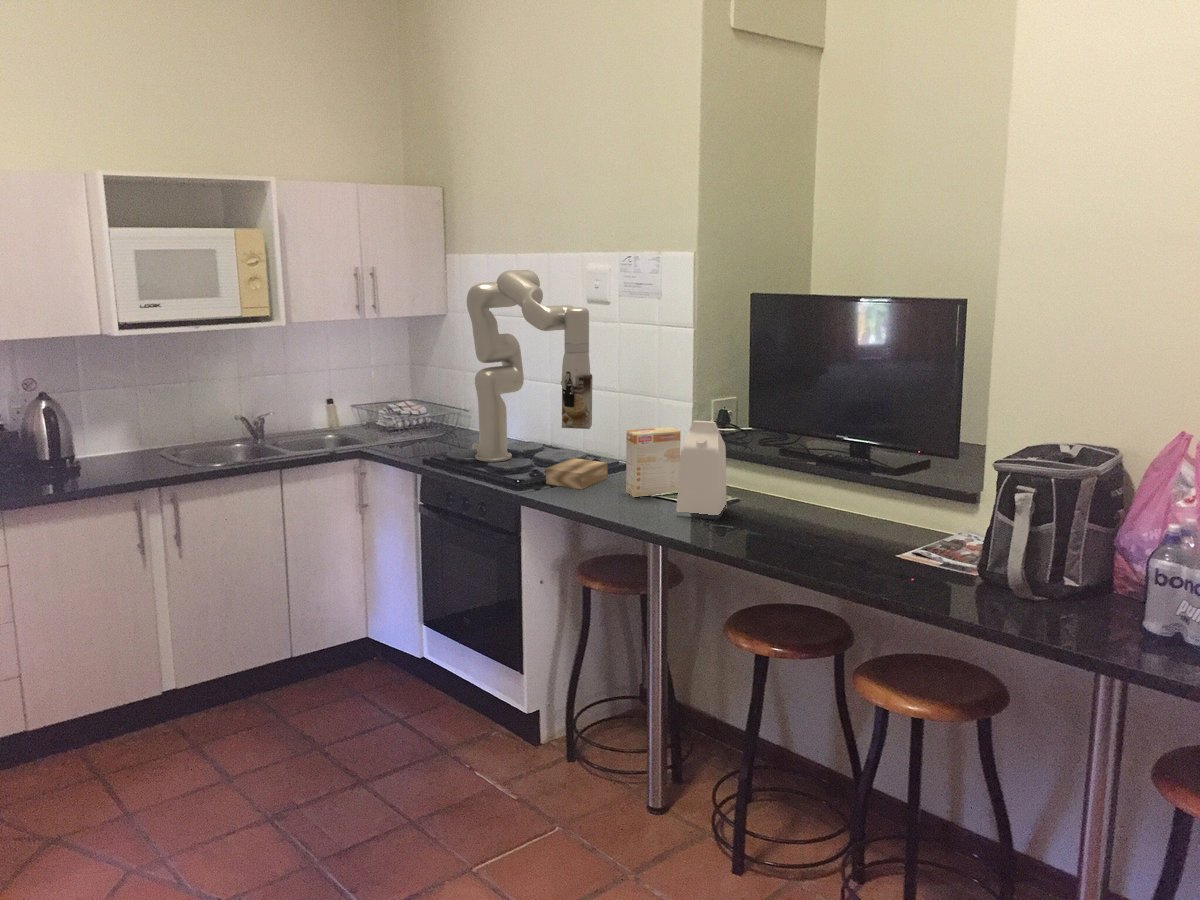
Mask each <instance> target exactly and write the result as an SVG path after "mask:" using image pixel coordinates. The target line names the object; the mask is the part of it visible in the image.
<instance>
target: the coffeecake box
mask: <svg viewBox="0 0 1200 900" xmlns="http://www.w3.org/2000/svg"><path fill="white" fill-rule="evenodd" d="M625 446H626V448H625V449H626V450H625V453H626V457H625V458H626V461H625V462H626V466H625V467H626V468H625V471H626V472H625V473H626V474H625V475H626V479H625V480H626V481H625V482H626V484H625V485H626V487H625V489H626V491H625V492H627V493H629V494H630V495H629V494H628V495H629V496H631V495H632V496H633V497H638V496H648V495H654V494H661V493H666V492H672V491H678V481H679V468H680V455H681V430H680V429H677V428H675V426H674V427H673V426H665V427H652V428H638V429H627V430H626V445H625ZM632 496H631V497H632ZM633 497H632V498H633Z"/></svg>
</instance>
